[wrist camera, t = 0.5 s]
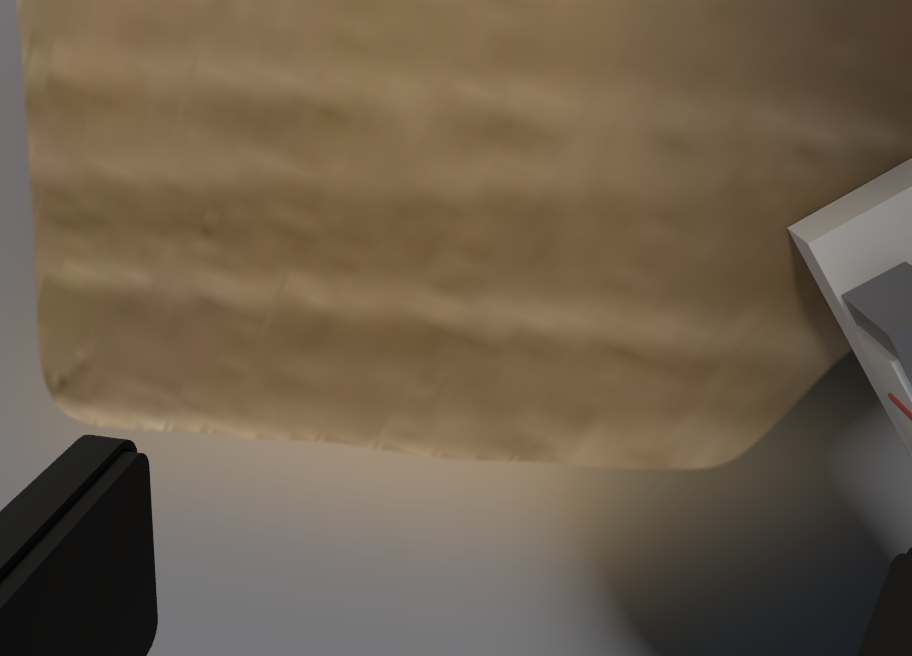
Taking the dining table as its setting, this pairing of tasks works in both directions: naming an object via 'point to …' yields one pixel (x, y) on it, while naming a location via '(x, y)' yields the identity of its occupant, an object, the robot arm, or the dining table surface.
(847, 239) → the base
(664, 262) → the dining table surface
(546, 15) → the dining table surface
